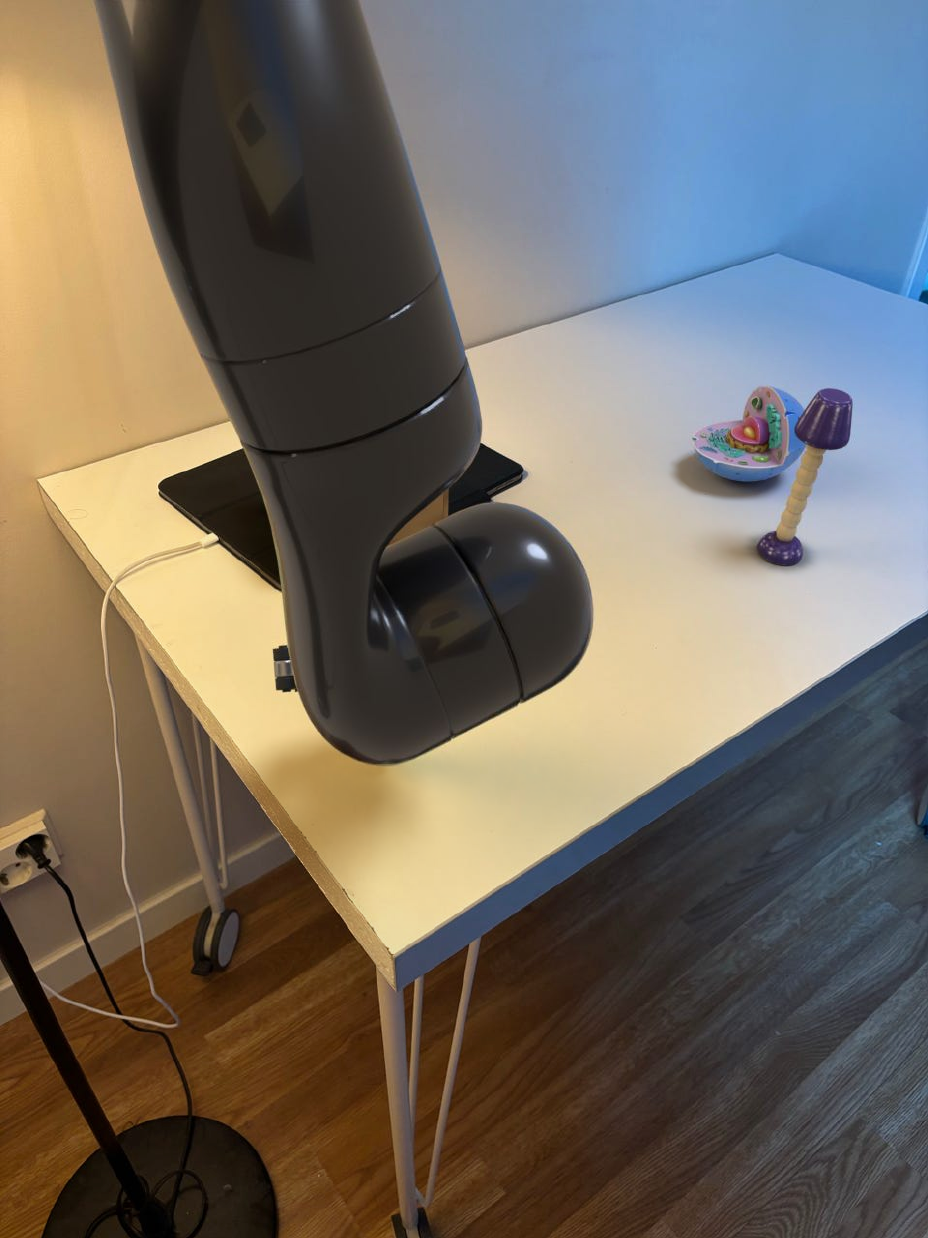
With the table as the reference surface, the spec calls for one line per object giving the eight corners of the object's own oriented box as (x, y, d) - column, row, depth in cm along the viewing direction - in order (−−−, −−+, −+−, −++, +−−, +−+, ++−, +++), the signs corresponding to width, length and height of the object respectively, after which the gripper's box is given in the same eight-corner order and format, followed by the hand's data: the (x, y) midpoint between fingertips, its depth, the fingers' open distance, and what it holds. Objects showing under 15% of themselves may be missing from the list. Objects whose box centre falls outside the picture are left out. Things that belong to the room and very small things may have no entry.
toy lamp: (797, 538, 93) (848, 380, 82) (816, 567, 89) (872, 407, 78) (750, 540, 92) (795, 382, 81) (767, 569, 89) (816, 408, 78)
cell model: (670, 455, 104) (686, 374, 98) (771, 446, 106) (793, 366, 100) (707, 506, 97) (727, 421, 90) (814, 495, 99) (841, 412, 93)
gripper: (529, 571, 51) (478, 602, 67) (254, 592, 48) (271, 619, 65) (543, 712, 50) (488, 709, 67) (265, 740, 48) (279, 729, 64)
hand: (381, 664), depth 66 cm, fingers closed on lightbulb, 6 cm apart
